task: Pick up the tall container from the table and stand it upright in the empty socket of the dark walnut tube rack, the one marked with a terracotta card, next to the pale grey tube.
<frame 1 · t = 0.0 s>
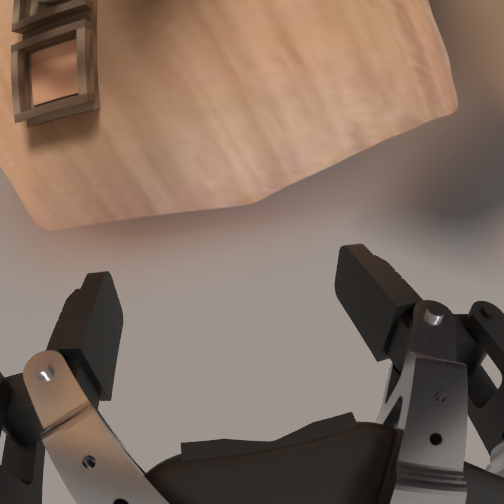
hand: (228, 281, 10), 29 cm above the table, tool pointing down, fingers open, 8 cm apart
tube rack: (60, 29, 24), on the table
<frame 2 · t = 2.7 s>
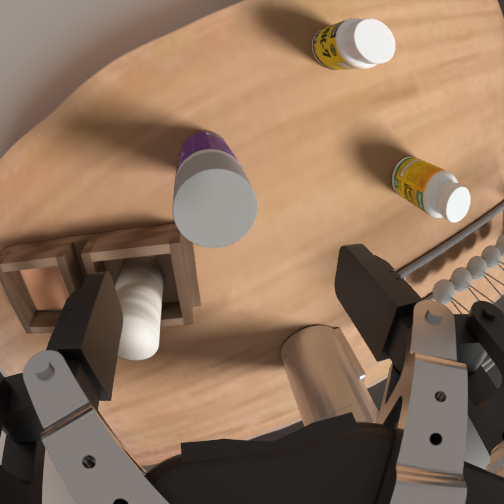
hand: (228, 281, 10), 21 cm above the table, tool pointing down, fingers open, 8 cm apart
container: (204, 153, 29), on the table
supplement bottle 2: (331, 49, 25), on the table
newton's cradle: (460, 254, 43), on the table
tube rack: (95, 273, 32), on the table
supplement bottle: (406, 175, 34), on the table
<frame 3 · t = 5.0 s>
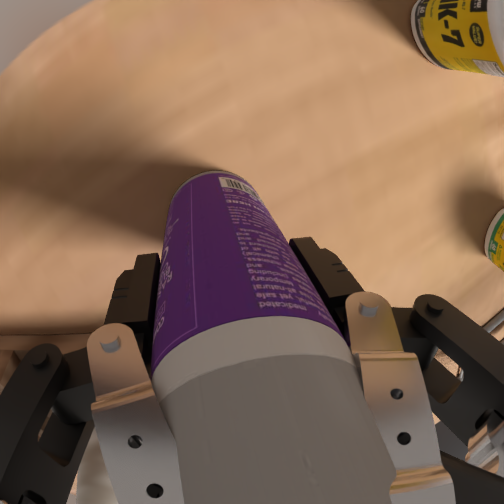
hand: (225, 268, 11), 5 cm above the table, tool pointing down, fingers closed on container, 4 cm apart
container: (215, 214, 15), on the table, touching gripper
supplement bottle 2: (435, 32, 12), on the table
tube rack: (58, 379, 19), on the table
supplement bottle: (498, 230, 20), on the table
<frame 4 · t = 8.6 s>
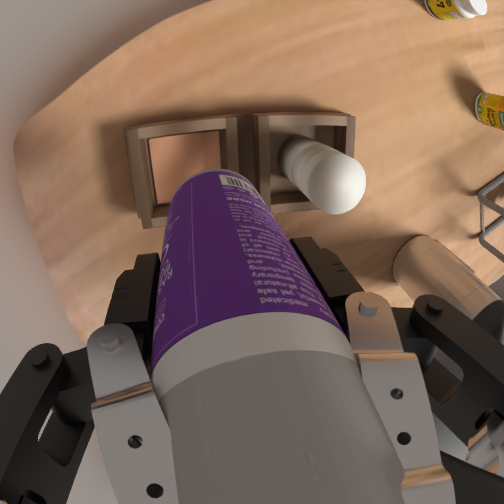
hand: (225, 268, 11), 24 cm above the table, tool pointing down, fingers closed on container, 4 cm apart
container: (215, 212, 15), point 18 cm above the table, touching gripper
supplement bottle 2: (434, 5, 25), on the table
tube rack: (242, 158, 32), on the table
supplement bottle: (482, 107, 33), on the table
when the fingers open (7 cm above the table, at t = 12.3 s): container stays where it is, resting on tube rack.
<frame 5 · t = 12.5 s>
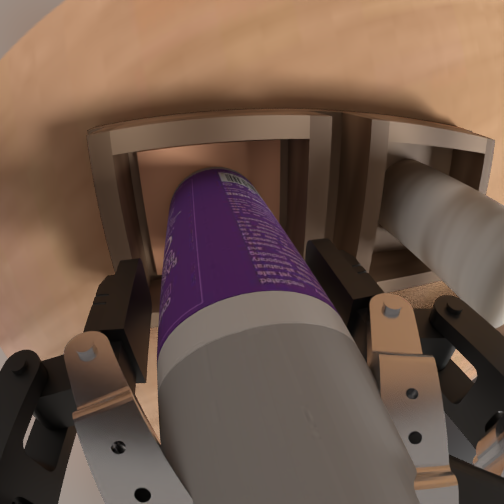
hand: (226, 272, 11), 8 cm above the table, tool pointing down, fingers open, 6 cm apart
container: (214, 209, 16), point 2 cm above the table, touching tube rack
tube rack: (311, 191, 18), on the table
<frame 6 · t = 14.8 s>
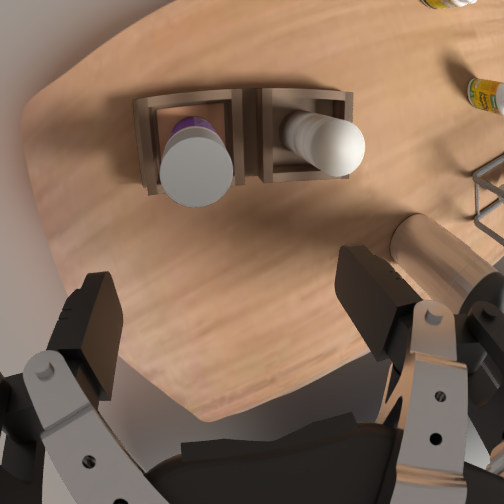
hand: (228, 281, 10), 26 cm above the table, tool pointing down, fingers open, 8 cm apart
container: (192, 137, 31), point 2 cm above the table, touching tube rack
tube rack: (245, 131, 33), on the table
supplement bottle: (474, 92, 34), on the table
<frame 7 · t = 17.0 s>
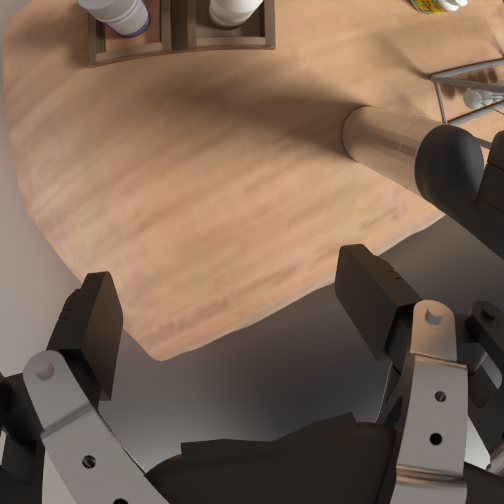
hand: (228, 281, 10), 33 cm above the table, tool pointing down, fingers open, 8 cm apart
container: (132, 22, 28), point 2 cm above the table, touching tube rack
newton's cradle: (478, 89, 40), on the table
tube rack: (180, 19, 30), on the table
supplement bottle: (420, 1, 31), on the table
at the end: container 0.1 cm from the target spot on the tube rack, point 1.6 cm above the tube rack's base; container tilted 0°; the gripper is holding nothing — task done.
